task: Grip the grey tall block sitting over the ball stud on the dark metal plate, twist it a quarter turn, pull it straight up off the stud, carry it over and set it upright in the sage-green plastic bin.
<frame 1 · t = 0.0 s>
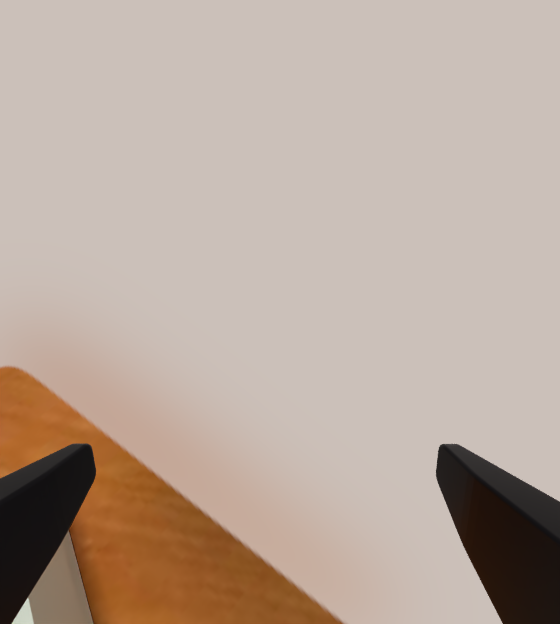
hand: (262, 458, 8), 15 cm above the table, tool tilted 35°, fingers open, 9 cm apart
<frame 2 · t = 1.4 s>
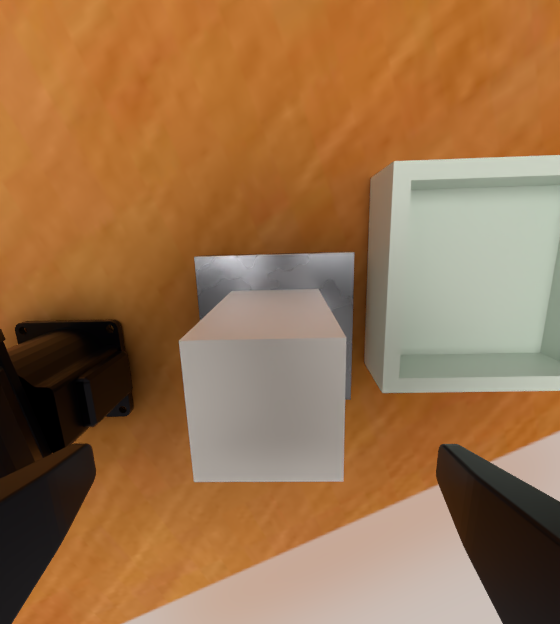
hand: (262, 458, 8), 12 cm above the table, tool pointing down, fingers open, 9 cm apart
stud plate: (276, 326, 20), on the table
grey tall block: (276, 331, 19), point 1 cm above the table, touching stud plate
bin: (460, 274, 19), on the table
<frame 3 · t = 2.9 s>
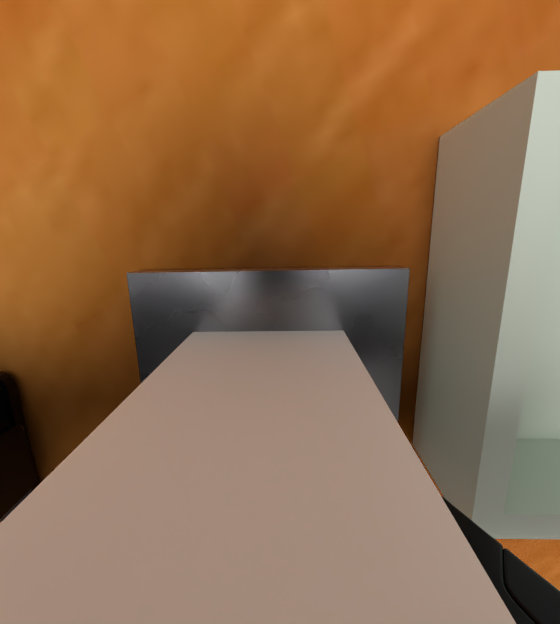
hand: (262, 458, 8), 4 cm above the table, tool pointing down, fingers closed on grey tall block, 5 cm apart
stud plate: (271, 386, 12), on the table
grey tall block: (269, 399, 11), point 1 cm above the table, touching gripper, stud plate
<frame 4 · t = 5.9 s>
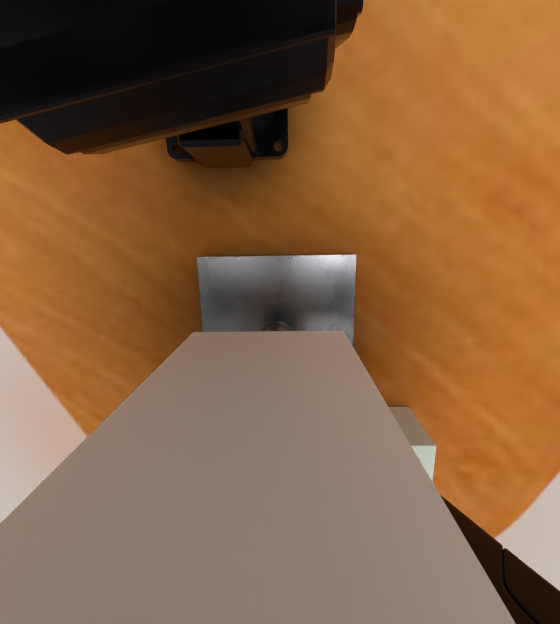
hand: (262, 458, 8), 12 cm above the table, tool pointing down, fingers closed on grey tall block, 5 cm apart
stud plate: (278, 327, 20), on the table
grey tall block: (269, 399, 11), point 9 cm above the table, touching gripper
bin: (323, 477, 22), on the table
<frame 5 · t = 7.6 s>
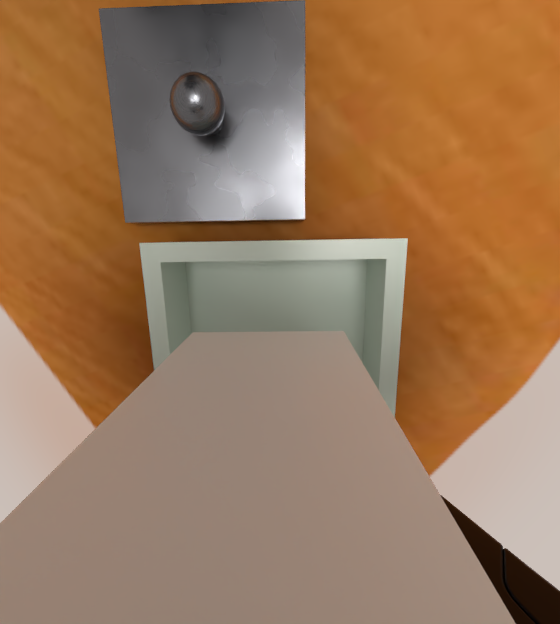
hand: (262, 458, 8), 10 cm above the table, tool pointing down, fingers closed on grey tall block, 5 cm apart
stud plate: (213, 127, 16), on the table
grey tall block: (269, 400, 11), point 7 cm above the table, touching gripper
bin: (277, 338, 18), on the table
when the fingers open (5 cm above the table, at t = 9.1 s): grey tall block drops 1 cm, resting on bin.
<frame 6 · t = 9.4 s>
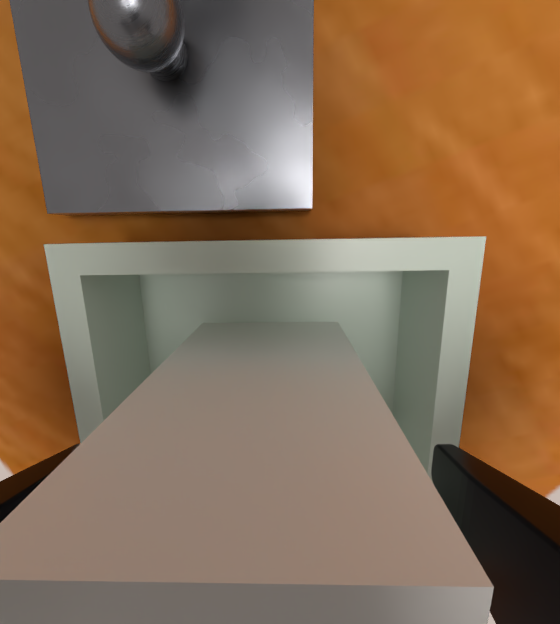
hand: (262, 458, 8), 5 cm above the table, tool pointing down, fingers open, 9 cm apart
stud plate: (176, 72, 11), on the table
grey tall block: (271, 384, 12), point 1 cm above the table, touching bin
bin: (272, 376, 13), on the table
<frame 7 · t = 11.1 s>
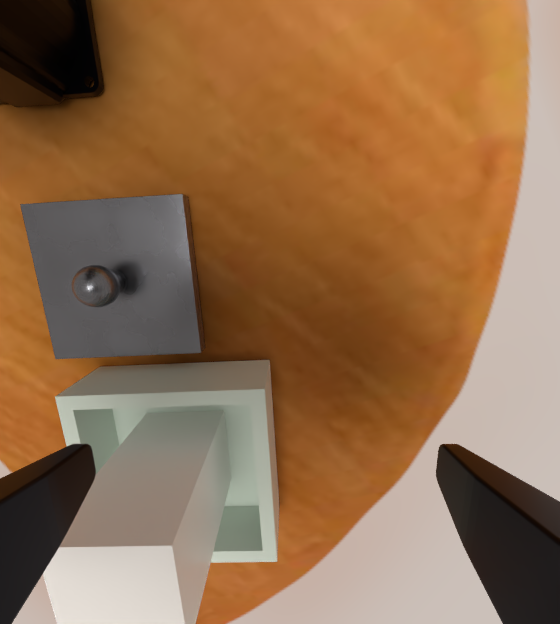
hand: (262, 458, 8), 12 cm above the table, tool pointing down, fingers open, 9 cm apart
stud plate: (123, 279, 19), on the table
grey tall block: (189, 446, 21), point 1 cm above the table, touching bin
bin: (193, 439, 21), on the table
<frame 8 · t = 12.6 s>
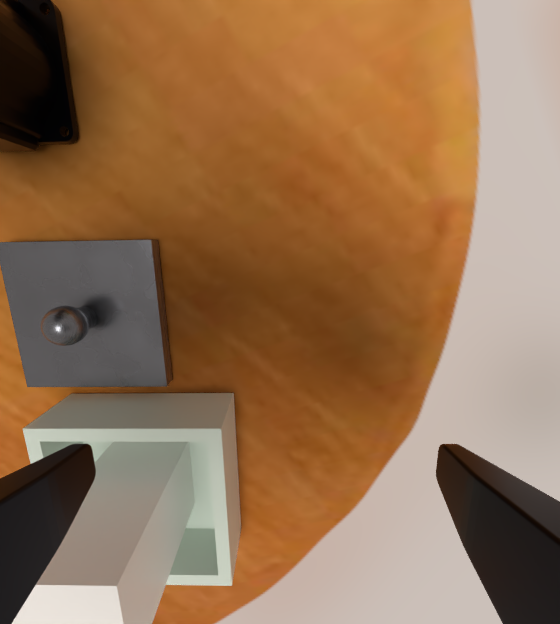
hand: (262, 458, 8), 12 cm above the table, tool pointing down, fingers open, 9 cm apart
stud plate: (95, 313, 20), on the table
grey tall block: (155, 471, 22), point 1 cm above the table, touching bin
bin: (160, 464, 22), on the table
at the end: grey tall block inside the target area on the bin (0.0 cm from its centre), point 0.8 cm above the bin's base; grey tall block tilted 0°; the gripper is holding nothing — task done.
